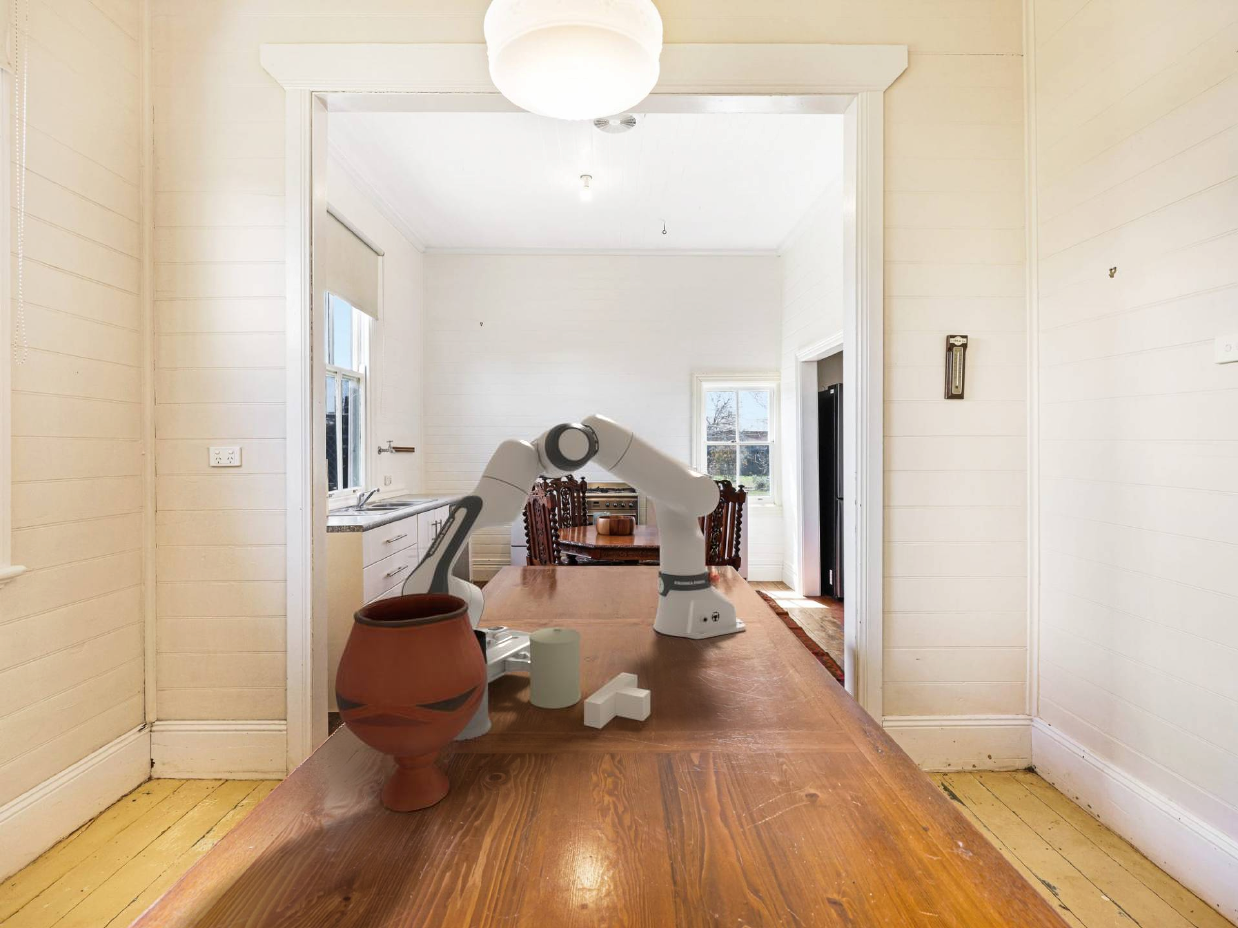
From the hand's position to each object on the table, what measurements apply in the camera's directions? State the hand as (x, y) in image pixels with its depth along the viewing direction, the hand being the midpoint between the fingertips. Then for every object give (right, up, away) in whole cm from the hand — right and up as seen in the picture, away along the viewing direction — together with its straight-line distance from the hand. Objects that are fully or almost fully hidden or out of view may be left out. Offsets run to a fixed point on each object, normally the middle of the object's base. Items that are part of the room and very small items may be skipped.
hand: (534, 664), depth 115 cm
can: (+4, -6, -2) cm, 7 cm away
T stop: (+16, -6, -8) cm, 19 cm away
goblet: (-12, -7, -32) cm, 35 cm away
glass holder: (-11, -6, -16) cm, 20 cm away
